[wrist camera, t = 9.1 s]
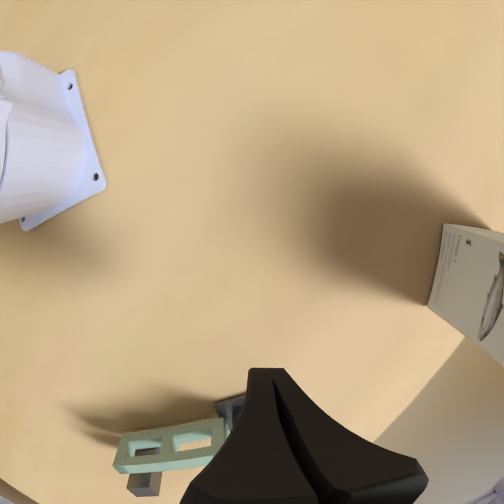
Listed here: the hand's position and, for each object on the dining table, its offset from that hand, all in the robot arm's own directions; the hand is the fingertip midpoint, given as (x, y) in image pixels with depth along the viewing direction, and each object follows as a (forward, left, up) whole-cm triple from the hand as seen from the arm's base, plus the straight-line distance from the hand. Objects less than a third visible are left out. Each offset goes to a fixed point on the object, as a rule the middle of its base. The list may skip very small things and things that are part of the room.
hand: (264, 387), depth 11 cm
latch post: (+13, -14, -10) cm, 22 cm away
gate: (+10, -11, -9) cm, 17 cm away
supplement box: (+5, +18, -10) cm, 21 cm away
